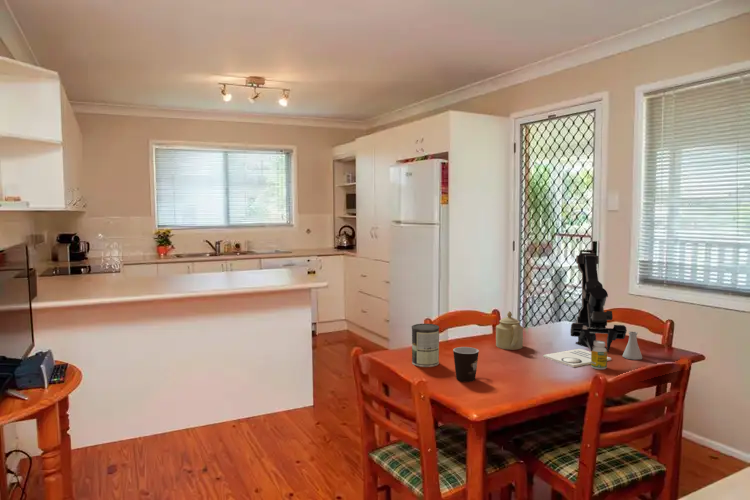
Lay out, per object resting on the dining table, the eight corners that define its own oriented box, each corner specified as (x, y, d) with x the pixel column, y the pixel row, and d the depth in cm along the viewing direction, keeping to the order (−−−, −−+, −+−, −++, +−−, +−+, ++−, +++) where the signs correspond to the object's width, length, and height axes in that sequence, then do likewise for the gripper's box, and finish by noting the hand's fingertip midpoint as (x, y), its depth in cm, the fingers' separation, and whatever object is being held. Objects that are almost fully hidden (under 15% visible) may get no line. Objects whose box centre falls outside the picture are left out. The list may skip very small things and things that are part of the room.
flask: (645, 360, 198) (646, 334, 198) (624, 359, 200) (625, 334, 199) (639, 355, 205) (640, 330, 205) (619, 354, 207) (620, 329, 206)
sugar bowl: (535, 350, 214) (535, 314, 213) (514, 353, 209) (515, 316, 208) (510, 341, 227) (510, 307, 226) (490, 345, 222) (490, 310, 221)
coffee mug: (461, 384, 173) (462, 355, 172) (448, 376, 181) (448, 348, 180) (490, 379, 177) (491, 350, 177) (476, 372, 185) (476, 344, 185)
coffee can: (406, 363, 197) (406, 326, 196) (423, 357, 204) (423, 322, 203) (427, 369, 190) (427, 331, 189) (444, 363, 197) (444, 326, 196)
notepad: (543, 357, 204) (543, 354, 204) (579, 350, 213) (579, 348, 213) (573, 367, 191) (573, 364, 191) (611, 360, 200) (611, 357, 199)
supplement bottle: (600, 364, 193) (601, 339, 193) (610, 369, 188) (610, 343, 187) (587, 366, 192) (588, 340, 191) (597, 370, 187) (597, 344, 186)
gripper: (571, 301, 194) (574, 337, 185) (626, 303, 190) (632, 340, 180) (569, 317, 203) (571, 353, 193) (621, 320, 198) (626, 356, 188)
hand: (599, 350), depth 188 cm, fingers closed on supplement bottle, 5 cm apart
